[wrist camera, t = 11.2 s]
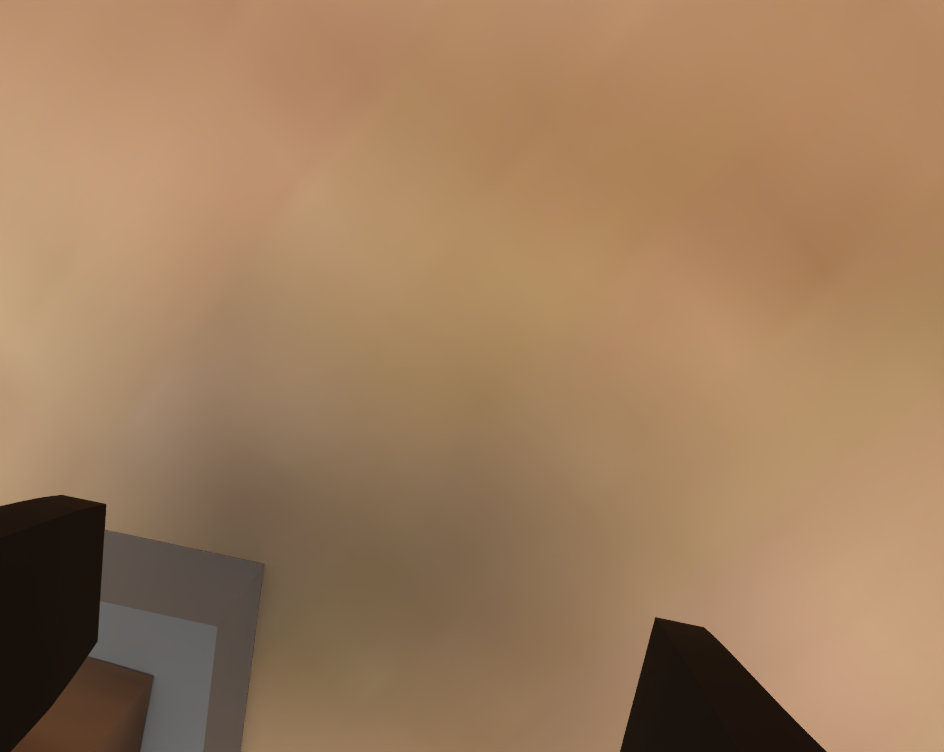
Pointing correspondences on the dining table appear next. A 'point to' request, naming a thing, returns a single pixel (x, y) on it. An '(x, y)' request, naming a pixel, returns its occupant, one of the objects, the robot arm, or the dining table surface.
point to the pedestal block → (181, 637)
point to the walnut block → (94, 712)
